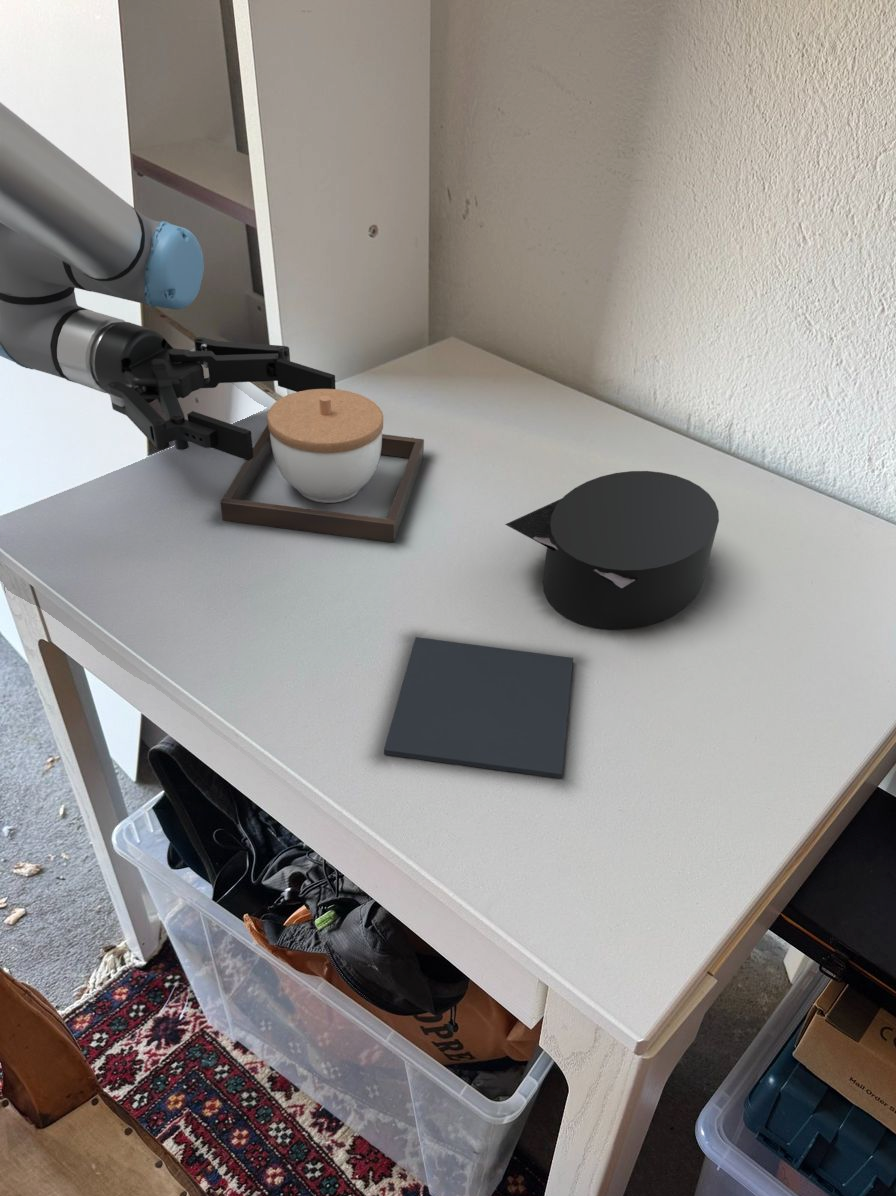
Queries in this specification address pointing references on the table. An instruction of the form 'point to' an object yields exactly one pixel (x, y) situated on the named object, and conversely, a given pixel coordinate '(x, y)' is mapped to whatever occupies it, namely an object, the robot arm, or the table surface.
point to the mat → (483, 708)
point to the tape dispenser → (624, 548)
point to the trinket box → (326, 442)
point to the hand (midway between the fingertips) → (294, 416)
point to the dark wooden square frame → (318, 519)
